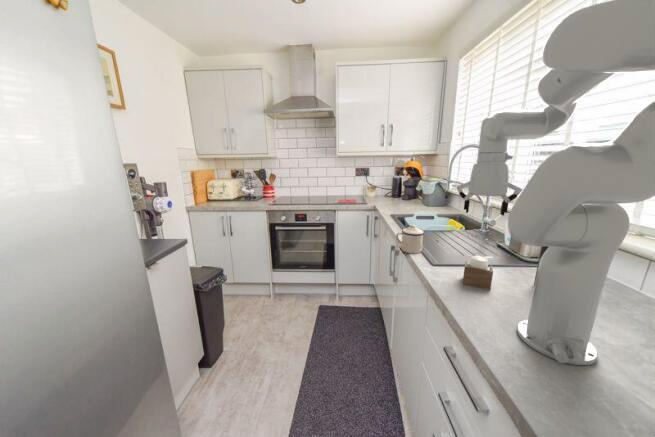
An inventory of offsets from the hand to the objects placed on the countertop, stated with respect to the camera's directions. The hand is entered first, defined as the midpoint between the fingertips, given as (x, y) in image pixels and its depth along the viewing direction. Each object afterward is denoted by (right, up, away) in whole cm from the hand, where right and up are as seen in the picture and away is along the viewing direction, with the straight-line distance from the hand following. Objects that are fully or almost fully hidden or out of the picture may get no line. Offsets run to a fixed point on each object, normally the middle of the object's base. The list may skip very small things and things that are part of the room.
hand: (484, 213), depth 78 cm
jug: (-1, -22, +2) cm, 22 cm away
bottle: (+17, -24, -4) cm, 29 cm away
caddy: (-3, -23, 0) cm, 23 cm away
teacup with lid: (-14, -16, +31) cm, 38 cm away
